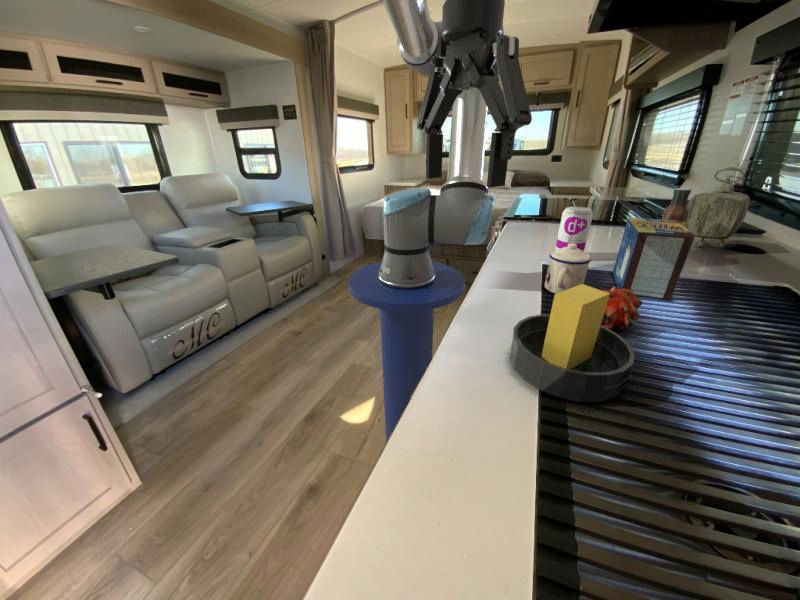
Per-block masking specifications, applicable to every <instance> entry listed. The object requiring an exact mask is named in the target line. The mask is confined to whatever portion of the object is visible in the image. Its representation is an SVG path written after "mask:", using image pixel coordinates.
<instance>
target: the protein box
mask: <svg viewBox="0 0 800 600" xmlns="http://www.w3.org/2000/svg"><path fill="white" fill-rule="evenodd" d="M695 238H696V237H695V235H694V234H693V233H691V232H690V231H689V230H687V229H686V228H685V227H684V226H682V225H681V224H679V223H678V222H677V221H675V220H661V219H659V218H658V219H656V218H644V217H643V218H641V217H640V218H639V217H628V218H627V221H626V224H625V228H624V230H623V234H622V238H621V242H620V244H619V248H618V251H617V255H616V259H615V263H614V266H613V270H612V275H613V278H614V281H615V283H616V287H620V289H629V290H632V291H633V292H634V295H636V296H637V297H644V298H650V299H651V298H652V299H658V300H666V301H672V298H673V295H674V293H675V290H676V287H677V285H678V282H679V280H680V277H681V275H682V272H683V269H684V267H685V265H686V261H687V259H688V256H689V254H690V251H691V248H692V246H693V243H694V241H695Z"/></svg>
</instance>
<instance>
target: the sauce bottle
mask: <svg viewBox="0 0 800 600" xmlns="http://www.w3.org/2000/svg"><path fill="white" fill-rule="evenodd" d="M691 192H692V189H691V188H684V187H678V188H677V187H675V188H674V190H673V192H672V193H673V195H672V199H671V201H670V204H669V205H668V206H666V207H665V209H664V211H663V213H662V217H661V219H660V220H675V221H677V222H678V223H679V224H681V225H682V226H684V227H685V223H686V220H687V215H688V210H687V204H688V199H689V197H690V195H691V194H692V193H691Z"/></svg>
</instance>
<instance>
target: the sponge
mask: <svg viewBox="0 0 800 600" xmlns="http://www.w3.org/2000/svg"><path fill="white" fill-rule="evenodd" d="M601 290H602V289H601ZM601 290H600V289H598V288H595V287H593V286H589V285H587V284H585V283H584V284H580V285H578V286H575V287H572V288H570V289H567V290H565V291H562V292H559V293H557V294H555V293H554V296H553V299H552V306H551V310H550V313H549V314H550V319H549V323H548V328H547V333H546V337H545V342H544V347H543V351H542V356H541V359H543V360H545V361H546V362H548V363H551V364H554V365H557V366H560V367H563V368H566V369H571V370H577V371H578V370H580V369H581V368H583V367H585V366H586V365H588V364H589V362H590V359H591V356H592V353H593V349H594V346H595V342H596V339H597V336H598V332H599V329H600V326H601V322H602V319H603V315H604V312H605V309H606V305H607V302H608V299H609V295H610V293H607V292H604V291H601Z"/></svg>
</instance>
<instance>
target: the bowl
mask: <svg viewBox="0 0 800 600" xmlns="http://www.w3.org/2000/svg"><path fill="white" fill-rule="evenodd" d="M550 314H551V313H549V314H545V313H544V314H543V313H542V314H537V315H530V316H527V317H525V318H523V319H521V320H519V321H518V322H517V323H516V325H515V326H514V327H513V331H512V338H511V344H510V349H509V362H510V365H511V366H512V369H513V370H514V372H516V373H517V374H518V376H520V377H521V379H522V380H524V382H526V383H528V384H529V385H531V386H532V387H534V388H535V389H537V390H539V391H541V392H543V393H546V394H548V395H551V396H554V397H555V398H559V399H563V400H567V401H568V400H569V401H573V402H579V403H601V402H605V401H608V400H612V399H616V397H618V395H620V394H621V393H623V392H624V390H625V388H626V384H627V381H628V379H629V377H630V373H631V370H632V368H633V365H634V361H635V356H636V355H635V353H634V351H633V348H632V346H631V345H630V344H629V342H627V340H625V338H623V337H622V336H621V335H619V334H618V333H616V332H615V331H613V330H610V329H608V328H606V327H604V326H600V329H599V332H598V336H597V339H596V342H595V346H594V349H593V353H592V356H591V359H590V362H589V364H588V365H586V366H585V367H583V368H581V369H580V370H578V371H577V370H571V369H566V368H563V367H560V366H557V365H554V364H551V363H548V362H546V361H545V360H543V359H541V356H542V351H543V347H544V342H545V337H546V333H547V328H548V323H549V319H550Z"/></svg>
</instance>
